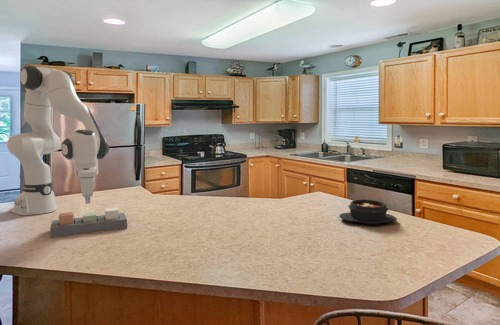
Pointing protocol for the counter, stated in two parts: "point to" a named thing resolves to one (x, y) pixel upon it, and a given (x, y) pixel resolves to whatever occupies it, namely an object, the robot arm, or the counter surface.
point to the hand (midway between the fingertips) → (87, 202)
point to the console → (87, 226)
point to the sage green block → (89, 217)
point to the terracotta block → (66, 218)
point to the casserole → (368, 212)
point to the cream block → (111, 213)
